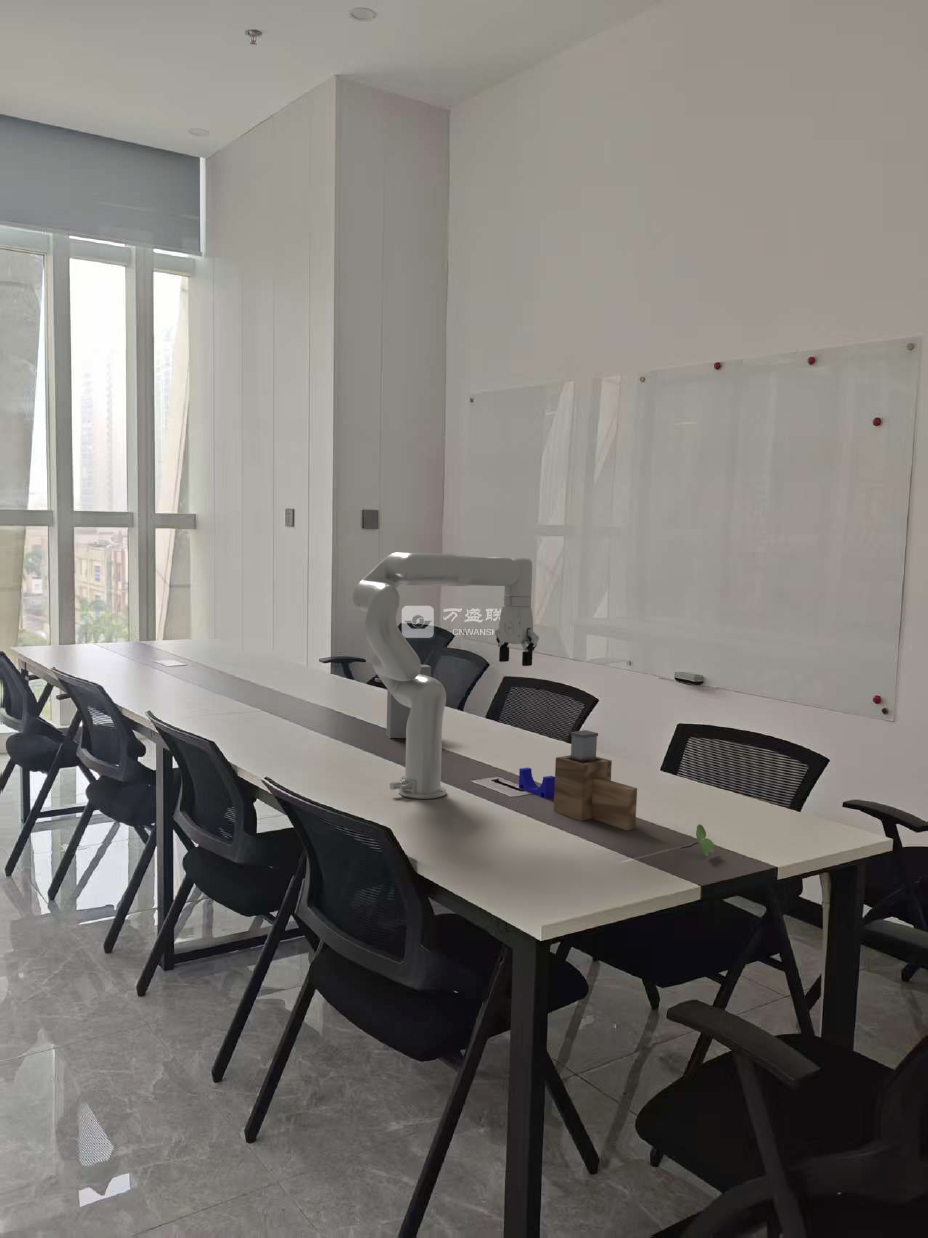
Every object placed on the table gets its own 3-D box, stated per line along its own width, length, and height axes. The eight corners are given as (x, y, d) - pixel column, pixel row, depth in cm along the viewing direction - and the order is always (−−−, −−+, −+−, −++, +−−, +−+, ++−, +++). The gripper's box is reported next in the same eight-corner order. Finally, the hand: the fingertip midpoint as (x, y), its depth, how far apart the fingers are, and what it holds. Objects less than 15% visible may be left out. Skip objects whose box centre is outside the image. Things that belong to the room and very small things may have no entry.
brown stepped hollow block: (616, 832, 246) (619, 775, 245) (553, 811, 263) (555, 757, 262) (645, 826, 252) (647, 770, 251) (581, 805, 269) (583, 753, 268)
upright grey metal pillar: (581, 777, 258) (583, 735, 257) (569, 774, 261) (570, 732, 260) (596, 774, 261) (598, 733, 260) (583, 771, 265) (585, 730, 264)
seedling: (693, 870, 234) (718, 860, 231) (673, 857, 230) (698, 846, 227) (689, 843, 239) (713, 833, 236) (669, 829, 235) (693, 818, 232)
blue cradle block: (558, 798, 277) (559, 776, 277) (545, 800, 275) (546, 778, 274) (531, 788, 287) (532, 766, 287) (518, 789, 285) (519, 768, 284)
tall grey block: (424, 736, 352) (426, 664, 349) (429, 740, 346) (431, 666, 344) (385, 738, 347) (386, 664, 345) (389, 741, 341) (391, 667, 339)
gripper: (487, 600, 289) (485, 660, 291) (528, 605, 276) (526, 668, 277) (507, 599, 294) (505, 659, 296) (548, 604, 281) (546, 666, 282)
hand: (515, 663), depth 287 cm, fingers open, 9 cm apart
